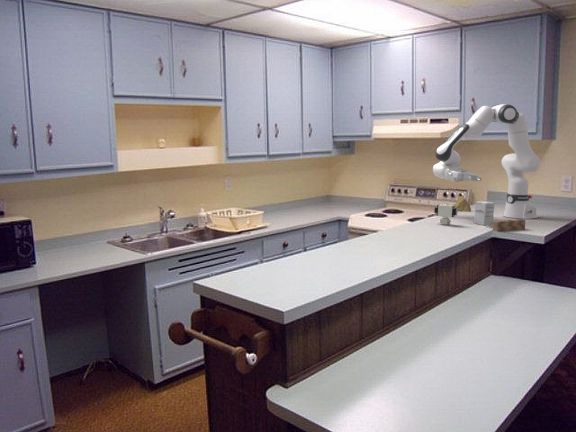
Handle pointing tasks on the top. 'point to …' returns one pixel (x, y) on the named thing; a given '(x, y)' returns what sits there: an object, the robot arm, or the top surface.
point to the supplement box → (484, 213)
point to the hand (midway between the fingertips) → (476, 178)
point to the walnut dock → (507, 225)
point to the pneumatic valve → (445, 212)
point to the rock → (462, 204)
